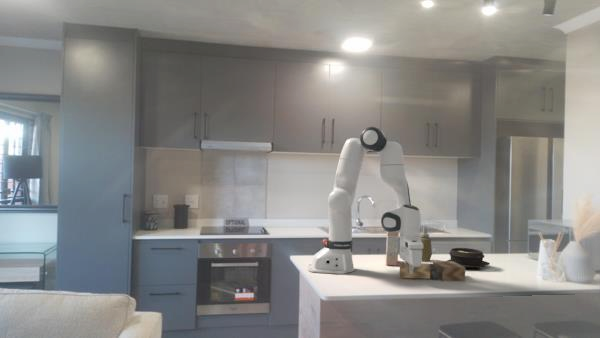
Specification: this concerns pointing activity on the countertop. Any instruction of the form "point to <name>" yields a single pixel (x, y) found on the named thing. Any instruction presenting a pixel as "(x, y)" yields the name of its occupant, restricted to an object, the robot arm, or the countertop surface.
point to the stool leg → (417, 270)
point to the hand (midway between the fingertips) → (409, 272)
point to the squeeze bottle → (426, 245)
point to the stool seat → (448, 271)
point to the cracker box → (392, 248)
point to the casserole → (468, 257)
